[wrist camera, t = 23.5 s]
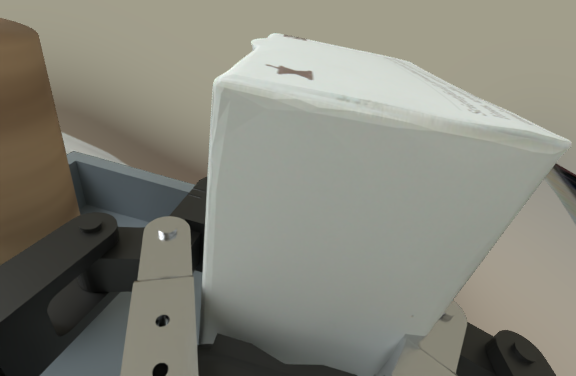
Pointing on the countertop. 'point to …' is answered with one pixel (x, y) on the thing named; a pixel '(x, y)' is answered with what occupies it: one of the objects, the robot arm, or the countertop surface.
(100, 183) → the tote
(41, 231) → the wooden cylinder
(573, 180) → the countertop surface
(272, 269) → the skincare box
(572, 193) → the countertop surface
